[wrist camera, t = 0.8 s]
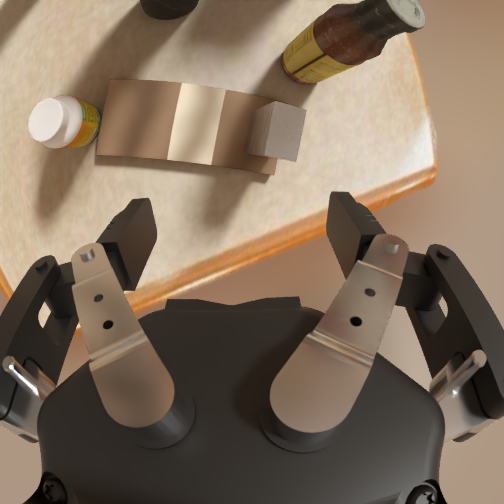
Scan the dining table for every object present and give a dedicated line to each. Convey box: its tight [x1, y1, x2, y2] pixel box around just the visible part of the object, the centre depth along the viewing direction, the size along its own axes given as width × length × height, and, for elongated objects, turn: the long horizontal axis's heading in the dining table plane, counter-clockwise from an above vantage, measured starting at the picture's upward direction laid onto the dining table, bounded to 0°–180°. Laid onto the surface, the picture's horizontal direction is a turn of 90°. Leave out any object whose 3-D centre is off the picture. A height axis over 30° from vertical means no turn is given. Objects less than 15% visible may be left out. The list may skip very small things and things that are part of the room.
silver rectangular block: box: [245, 101, 306, 162], centre depth 25 cm, size 3×5×8 cm, turn 170°
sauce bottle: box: [281, 0, 425, 84], centre depth 18 cm, size 6×6×20 cm
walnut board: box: [96, 79, 287, 175], centre depth 27 cm, size 21×9×1 cm, turn 80°
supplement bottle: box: [28, 95, 101, 149], centre depth 20 cm, size 5×5×10 cm
